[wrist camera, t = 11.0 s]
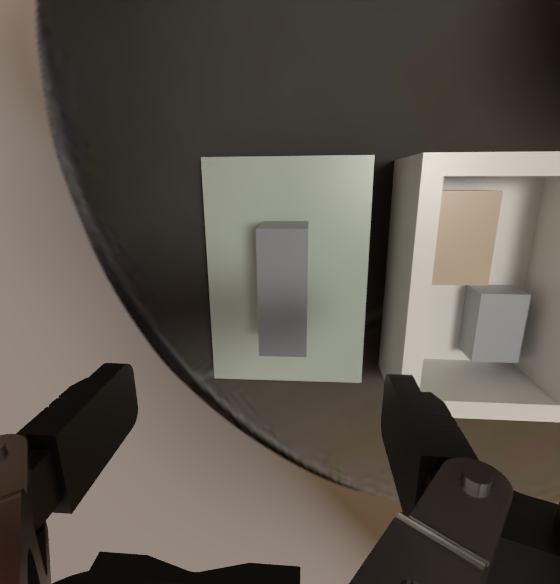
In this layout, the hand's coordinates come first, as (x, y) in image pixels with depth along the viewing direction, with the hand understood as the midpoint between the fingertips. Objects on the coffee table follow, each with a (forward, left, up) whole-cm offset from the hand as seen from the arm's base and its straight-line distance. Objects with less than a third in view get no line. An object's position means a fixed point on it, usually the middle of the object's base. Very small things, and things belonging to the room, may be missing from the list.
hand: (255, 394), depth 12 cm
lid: (0, 0, -18) cm, 18 cm away
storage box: (0, +13, -18) cm, 22 cm away
